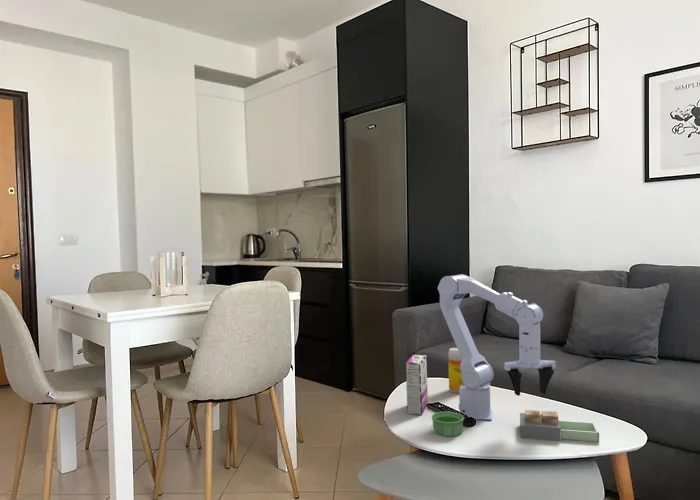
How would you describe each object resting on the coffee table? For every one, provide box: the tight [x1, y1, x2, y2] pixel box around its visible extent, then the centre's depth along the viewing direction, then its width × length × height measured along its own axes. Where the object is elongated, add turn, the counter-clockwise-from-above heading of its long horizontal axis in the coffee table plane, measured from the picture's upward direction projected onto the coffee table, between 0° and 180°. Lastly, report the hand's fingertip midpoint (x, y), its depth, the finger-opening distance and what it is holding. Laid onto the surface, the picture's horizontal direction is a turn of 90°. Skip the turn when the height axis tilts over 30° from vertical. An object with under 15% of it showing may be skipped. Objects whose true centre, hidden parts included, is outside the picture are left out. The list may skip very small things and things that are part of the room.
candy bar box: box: [405, 354, 429, 416], centre depth 170 cm, size 11×5×16 cm, turn 162°
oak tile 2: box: [541, 410, 559, 424], centre depth 147 cm, size 4×4×2 cm
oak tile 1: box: [524, 409, 542, 423], centre depth 148 cm, size 4×4×2 cm
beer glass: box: [447, 347, 465, 394], centre depth 188 cm, size 6×6×15 cm
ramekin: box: [431, 411, 465, 438], centre depth 150 cm, size 9×9×4 cm
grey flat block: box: [519, 412, 562, 441], centre depth 148 cm, size 10×10×4 cm
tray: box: [558, 419, 600, 443], centre depth 145 cm, size 10×8×2 cm
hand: (530, 393), depth 151 cm, fingers open, 7 cm apart
